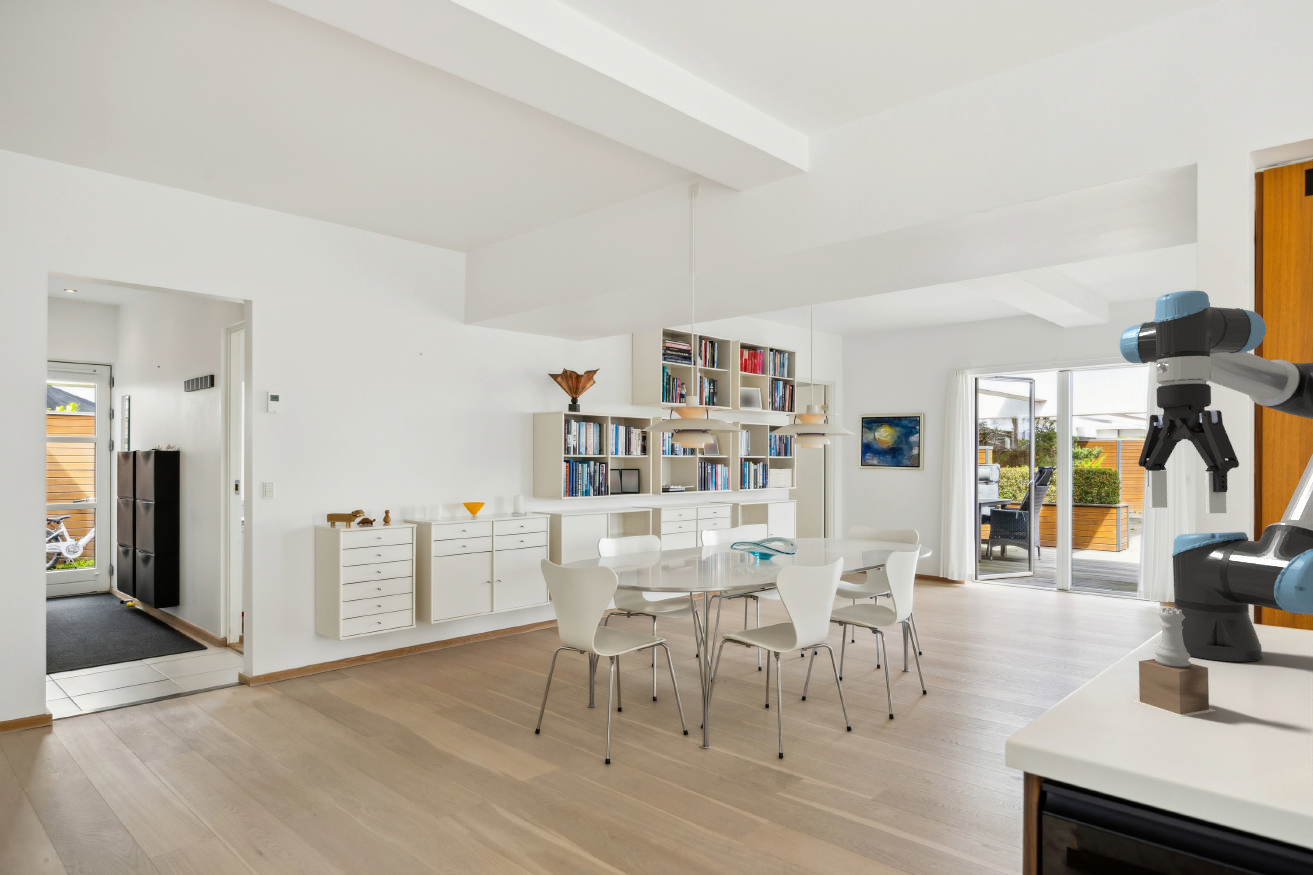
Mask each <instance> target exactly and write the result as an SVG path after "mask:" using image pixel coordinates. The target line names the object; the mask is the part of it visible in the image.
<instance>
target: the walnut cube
mask: <svg viewBox="0 0 1313 875" xmlns="http://www.w3.org/2000/svg"><path fill="white" fill-rule="evenodd" d="M1138 677H1139V678H1138V680H1139V681H1138V685H1139V691H1138V692H1139V694H1138V695H1139V700H1140V702H1142V703H1145V704H1148V705H1152V706H1155V707H1158V708H1161V709H1164V710H1167V711H1170V712H1174V713H1177V714H1180V715H1181V714H1186V713H1192V712H1198V711H1204V710H1209V708H1210V699H1209V698H1210V696H1209V691H1210V690H1209V667H1207V666H1205V665H1204V666H1203V665H1199V664H1195V663H1192V662H1191V664H1190V665H1189V666H1188V667H1186V668H1175V667H1168V666H1164V665H1160V664H1158V663H1157V662H1156V660H1155V658H1152V659H1144V660H1139V661H1138Z"/></svg>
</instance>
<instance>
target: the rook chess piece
mask: <svg viewBox="0 0 1313 875" xmlns="http://www.w3.org/2000/svg"><path fill="white" fill-rule="evenodd" d="M1158 617H1159V618H1160V619H1161V620H1162V621H1161V624H1160V627H1161V638H1160V642H1159V644H1158V648H1157V649H1155V652H1154V654H1155V655H1156V657H1155V658H1154V659H1155V660H1156V662H1157V663H1158V664H1160V665H1164V666H1168V667H1175V668H1186V667H1188V666H1189V665H1190V664H1191V663H1192V662H1191V661H1190V660H1189V659H1190V658H1191V656H1190V654H1189V653H1188V652H1187V651H1186V650H1187V649H1186V648H1185V645H1184V642H1183V636H1182V629H1183V628H1184V627H1183V626H1182V621H1183V620H1184V618H1185V616H1184V615H1183V614H1182V610H1179V609H1176V608H1175V609H1174V608H1173V610H1172V607H1167V608H1166V607H1161V610H1160V613H1158Z"/></svg>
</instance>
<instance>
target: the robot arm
mask: <svg viewBox="0 0 1313 875" xmlns="http://www.w3.org/2000/svg"><path fill="white" fill-rule="evenodd" d="M1155 301H1156V302H1155V313H1154V319H1153V321H1148V322H1147V321H1145V322H1142V323H1140V324H1136V325H1132V326H1128V327H1127V328H1126V329H1124V331H1123V332H1122V333H1121V336H1120V340H1119V341H1120V342H1119V351H1120V354H1121V355H1122V357H1123V358H1124V359H1125V360H1126V361H1127V362H1129V363H1132V364H1142V365H1145V364H1148V363H1155V364H1156V383H1158V384H1160V386H1159V385H1158V388H1156V406H1157V407H1158V408H1159V409H1163V414H1151V415H1149V424H1148V426H1149V427H1148V431H1147V434H1146V436H1145V440H1144V443H1143V446H1142V450H1141V453H1140V457H1139V460H1138V466H1139V467H1143V468H1144V469H1145V470H1146V471H1147V486H1148V499H1149V500H1148V503H1149V507H1148V508H1153V509H1154V508H1156V509H1157V508H1161V509H1162V508H1163V509H1164V508H1165V509H1167V508H1168V474H1167V472H1168V471H1167V468H1166V466H1165V465H1166V464H1167V462H1168V460H1169V458H1170V457H1171V454H1172V452H1174V449H1175V448H1176V445H1177V444H1178V443H1179V442H1182V440H1187V441H1188V442H1191V443H1192V445H1193V447H1194V448H1195V449H1196V451H1197V453H1198V454H1199V455H1200V457H1201V459H1202V461H1203V462H1204V463H1205V465H1206V467H1207V468H1206V470H1205V472H1204V474H1205V475H1204V476H1205V477H1204V480H1205V485H1204V486H1205V513H1206V514H1227V492H1228V487H1229V486H1228V473H1229V472H1230V470H1232V469H1237V468H1239V466H1240V462H1239V460H1238V457H1237V455H1236V452H1235V450H1234V447H1233V445H1232V442H1231V441H1230V438H1229V435H1228V432H1227V431H1226V428H1225V426H1224V423H1223V422H1224V421H1223V415H1222V411H1221V410H1220V409H1219V410H1216V409H1214V410H1212V409H1209V410H1206V409H1205V408H1208V407H1210V406H1211V404H1212V389H1211V388H1212V386H1211V385H1210V384H1208V383H1207V382H1210V383H1214V384H1217V385H1219V386H1223V387H1225V388H1227V389H1230V390H1233V391H1236V392H1238V393H1241V394H1244V395H1248V397H1249V399H1250V400H1251V401H1252V402H1254V403H1255V404H1257V405H1259V406H1263V407H1266V408H1268V409H1271V410H1275V411H1278V412H1282V413H1285V414H1289V415H1293V416H1296V417H1300V418H1306V419H1313V362H1301V363H1300V362H1291V361H1288V360H1285V359H1272V360H1270V359H1267V358H1265V357H1261V356H1258V355H1256V354H1254V353H1253V354H1252V353H1250V352H1251V351H1253V350H1255V349H1256V348H1257V347H1259V345H1260V344H1262V342H1263V341H1264V338H1265V336H1266V333H1267V332H1266V331H1267V327H1266V321H1265V320H1264V318H1263V317H1262V316H1261V315H1260V314H1259V313H1258V312H1255V311H1253V310H1249V309H1244V308H1240V307H1236V308H1232V307H1231V308H1229V307H1217V306H1215V307H1214V306H1211V303H1210V298H1209V294H1208V293H1206V292H1205V291H1203V290H1183V291H1175V292H1170V293H1166V294H1163V295H1160V296H1159V297H1158V298H1157V299H1156V300H1155ZM1171 556H1172V573H1173V596H1174V600H1173V601H1174V603H1173V606H1174V607H1173V610H1174V609H1175V608H1176V609H1179V610H1182V614H1183V615H1184V616H1185V618H1184V620H1183V621H1182V626H1183V627H1184V628H1183V629H1182V636H1183V642H1184V645H1185V648H1186V649H1187V650H1186V651H1187V652H1188V653H1189V654H1190V657H1193V658H1200V659H1206V660H1212V661H1223V662H1245V663H1246V662H1255V661H1259V660H1261V659H1262V658H1263V655H1262V654H1263V653H1262V645H1261V642H1260V640H1259V637H1258V634H1257V631H1256V629H1255V627H1254V625H1253V622H1252V620H1251V617H1250V608H1249V605H1252V606H1257V607H1262V608H1269V609H1272V610H1273V609H1274V610H1278V611H1284V612H1288V613H1291V614H1297V615H1298V614H1299V615H1300V614H1304V615H1312V616H1313V453H1312V455H1311V456H1310V459H1309V460H1308V463H1307V465H1306V467H1305V469H1304V471H1303V474H1302V476H1301V477H1300V479H1299V482H1298V484H1297V485H1296V488H1295V490H1294V492H1293V494H1292V496H1291V499H1290V500H1289V502H1288V505H1287V507H1286V508H1285V511H1284V512H1283V515H1282V517H1281V520H1280V521H1279V522H1274V523H1271V524H1268V525H1267V526H1266V527H1265V528H1264V531H1263V533H1262V535H1261V536H1260V539H1259V540H1257V541H1255V540H1249V537H1248V534H1247V533H1246V532H1244V531H1235V532H1234V531H1231V532H1230V531H1229V532H1205V533H1204V532H1203V533H1184V534H1183V533H1182V534H1179V535H1177V536H1176V537H1175V538H1174V540H1173V553H1172V554H1171Z"/></svg>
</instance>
